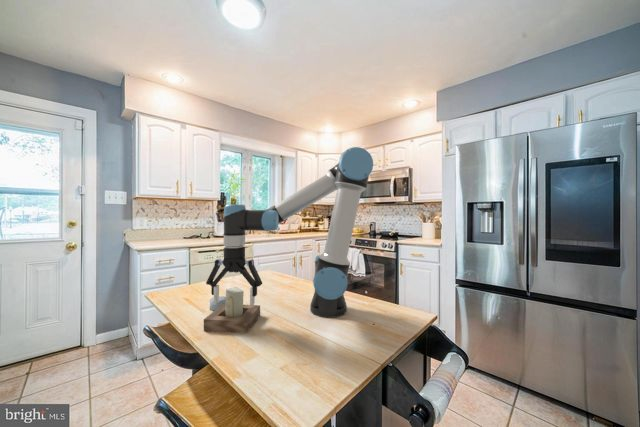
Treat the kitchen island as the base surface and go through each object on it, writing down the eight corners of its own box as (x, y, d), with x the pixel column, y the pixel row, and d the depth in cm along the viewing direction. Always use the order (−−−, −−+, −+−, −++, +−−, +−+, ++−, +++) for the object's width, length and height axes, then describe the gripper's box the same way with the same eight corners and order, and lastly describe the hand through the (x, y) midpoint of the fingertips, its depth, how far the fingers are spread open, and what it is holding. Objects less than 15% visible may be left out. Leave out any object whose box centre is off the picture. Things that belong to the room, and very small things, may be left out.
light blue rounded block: (230, 305, 114) (230, 296, 114) (223, 312, 107) (223, 302, 107) (214, 305, 115) (214, 296, 115) (206, 311, 108) (206, 301, 108)
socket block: (260, 315, 104) (260, 305, 104) (246, 333, 89) (246, 321, 89) (223, 313, 105) (223, 303, 105) (203, 331, 90) (203, 319, 90)
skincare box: (224, 321, 98) (225, 288, 98) (236, 318, 101) (236, 286, 101) (231, 327, 93) (232, 293, 93) (243, 323, 96) (243, 290, 96)
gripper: (270, 245, 99) (270, 302, 100) (207, 244, 102) (206, 299, 102) (264, 248, 92) (264, 309, 92) (196, 247, 94) (196, 306, 94)
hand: (234, 304), depth 97 cm, fingers open, 13 cm apart
